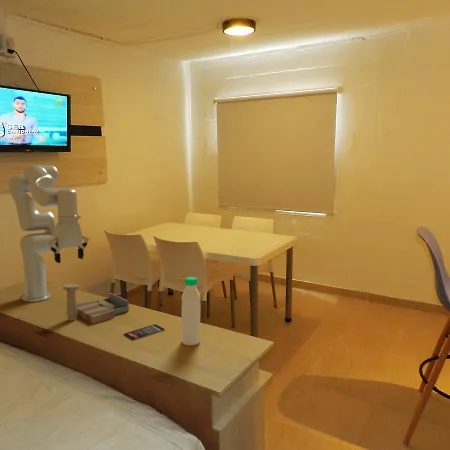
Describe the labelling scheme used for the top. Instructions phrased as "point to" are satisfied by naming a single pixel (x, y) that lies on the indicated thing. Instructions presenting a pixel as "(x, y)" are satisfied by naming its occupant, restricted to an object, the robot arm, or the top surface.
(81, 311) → the board
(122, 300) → the box
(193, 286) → the water bottle
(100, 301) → the tile
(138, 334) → the smartphone
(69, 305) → the handle
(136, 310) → the top surface
